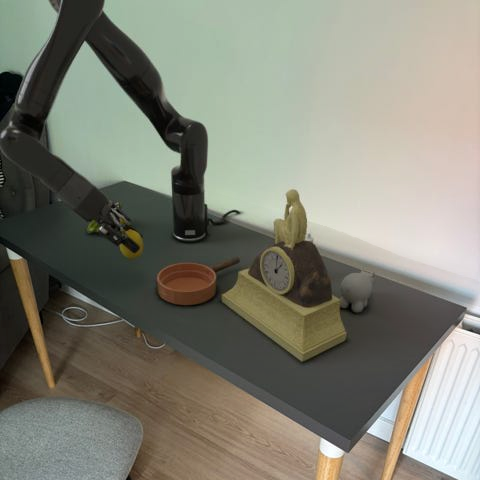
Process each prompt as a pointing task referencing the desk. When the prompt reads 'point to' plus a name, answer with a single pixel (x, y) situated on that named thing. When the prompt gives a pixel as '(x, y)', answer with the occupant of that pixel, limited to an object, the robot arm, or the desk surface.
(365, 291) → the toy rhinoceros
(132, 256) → the lemon
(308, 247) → the decorative clock
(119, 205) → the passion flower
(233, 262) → the pan handle
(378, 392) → the desk surface
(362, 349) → the desk surface
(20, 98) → the robot arm
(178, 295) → the pan
